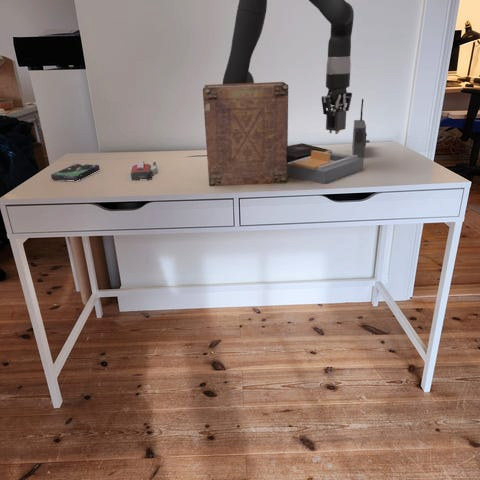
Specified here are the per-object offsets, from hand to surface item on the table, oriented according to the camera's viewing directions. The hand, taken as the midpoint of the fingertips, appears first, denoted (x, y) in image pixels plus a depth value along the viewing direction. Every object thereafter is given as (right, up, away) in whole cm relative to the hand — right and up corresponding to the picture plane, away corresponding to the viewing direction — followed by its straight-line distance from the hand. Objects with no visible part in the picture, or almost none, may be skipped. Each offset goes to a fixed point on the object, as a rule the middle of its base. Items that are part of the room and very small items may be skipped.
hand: (335, 126), depth 147 cm
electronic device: (+16, -4, +26) cm, 31 cm away
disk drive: (-91, -16, +11) cm, 93 cm away
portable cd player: (-10, -8, +22) cm, 25 cm away
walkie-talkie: (-66, -15, +11) cm, 69 cm away
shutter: (-8, -13, -3) cm, 16 cm away
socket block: (-3, -15, +3) cm, 16 cm away
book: (-30, -19, -2) cm, 35 cm away
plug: (0, -2, +1) cm, 2 cm away
